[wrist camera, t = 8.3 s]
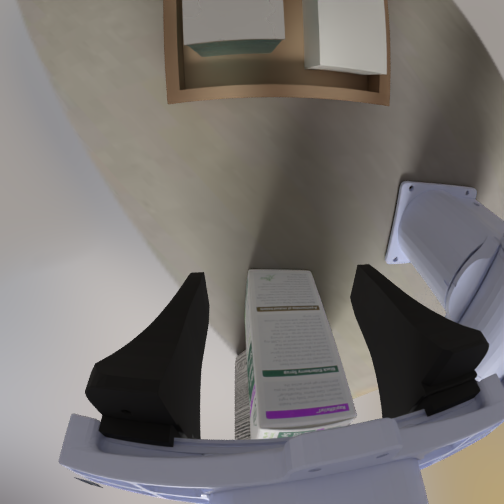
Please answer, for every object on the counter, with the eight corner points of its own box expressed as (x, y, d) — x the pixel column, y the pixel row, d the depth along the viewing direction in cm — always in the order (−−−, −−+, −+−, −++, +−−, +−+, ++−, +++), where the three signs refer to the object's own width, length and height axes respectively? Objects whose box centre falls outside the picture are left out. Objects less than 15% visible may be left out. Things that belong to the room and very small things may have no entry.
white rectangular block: (356, -10, 12) (380, -26, 9) (360, 74, 16) (386, 74, 12) (300, -19, 12) (314, -40, 9) (304, 69, 16) (319, 64, 12)
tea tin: (268, -4, 13) (280, -38, 8) (271, 54, 15) (285, 38, 10) (199, 0, 13) (182, -32, 8) (201, 57, 15) (184, 45, 10)
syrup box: (246, 267, 25) (252, 430, 13) (313, 268, 25) (359, 420, 13) (244, 314, 28) (247, 458, 16) (303, 314, 28) (331, 451, 16)
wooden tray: (369, -24, 11) (383, -34, 9) (373, 103, 17) (389, 106, 15) (172, -31, 11) (164, -43, 9) (176, 102, 17) (167, 104, 15)
